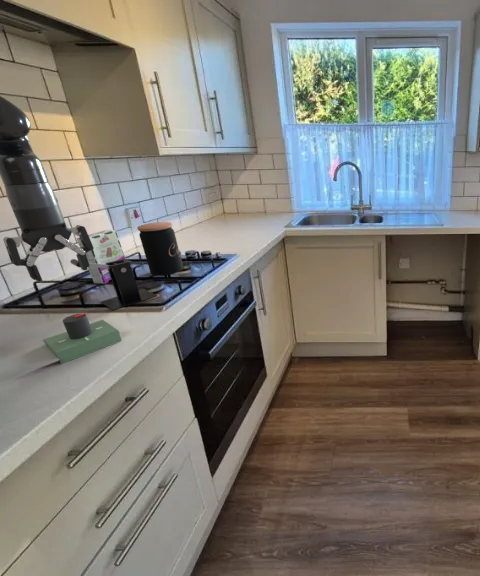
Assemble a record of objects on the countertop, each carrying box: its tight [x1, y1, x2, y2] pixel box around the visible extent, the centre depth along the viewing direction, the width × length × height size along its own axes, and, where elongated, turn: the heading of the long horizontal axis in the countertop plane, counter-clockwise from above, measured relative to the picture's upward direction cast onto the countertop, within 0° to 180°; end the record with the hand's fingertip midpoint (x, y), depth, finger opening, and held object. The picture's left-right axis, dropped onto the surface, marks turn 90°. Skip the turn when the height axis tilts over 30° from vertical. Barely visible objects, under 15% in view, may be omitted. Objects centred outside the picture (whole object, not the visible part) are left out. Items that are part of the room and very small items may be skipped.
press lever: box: [69, 258, 118, 271], centre depth 102 cm, size 12×5×2 cm, turn 144°
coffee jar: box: [136, 221, 184, 277], centre depth 130 cm, size 11×11×18 cm
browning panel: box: [42, 319, 122, 365], centre depth 87 cm, size 12×10×3 cm
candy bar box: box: [76, 229, 127, 285], centre depth 127 cm, size 11×5×16 cm, turn 170°
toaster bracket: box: [100, 259, 158, 311], centre depth 108 cm, size 12×10×13 cm
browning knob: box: [62, 312, 93, 339], centre depth 85 cm, size 4×4×5 cm
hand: (62, 275), depth 84 cm, fingers open, 8 cm apart
